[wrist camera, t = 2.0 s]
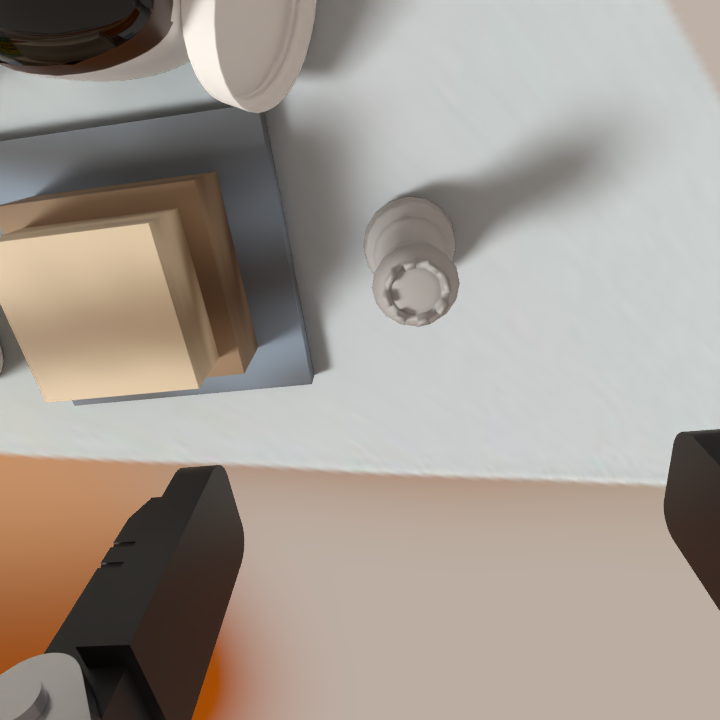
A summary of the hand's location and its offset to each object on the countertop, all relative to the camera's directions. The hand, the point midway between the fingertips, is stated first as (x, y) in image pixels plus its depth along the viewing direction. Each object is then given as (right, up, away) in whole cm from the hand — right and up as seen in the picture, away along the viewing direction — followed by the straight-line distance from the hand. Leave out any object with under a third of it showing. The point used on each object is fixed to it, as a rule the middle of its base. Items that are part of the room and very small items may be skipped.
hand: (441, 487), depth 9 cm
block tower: (-12, +7, +18) cm, 22 cm away
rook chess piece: (+1, +8, +17) cm, 19 cm away
